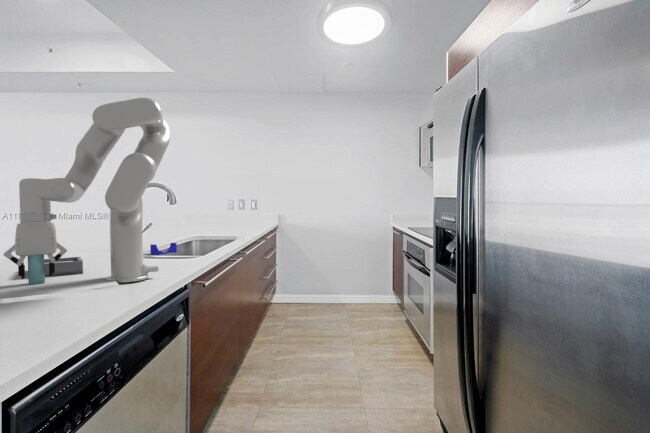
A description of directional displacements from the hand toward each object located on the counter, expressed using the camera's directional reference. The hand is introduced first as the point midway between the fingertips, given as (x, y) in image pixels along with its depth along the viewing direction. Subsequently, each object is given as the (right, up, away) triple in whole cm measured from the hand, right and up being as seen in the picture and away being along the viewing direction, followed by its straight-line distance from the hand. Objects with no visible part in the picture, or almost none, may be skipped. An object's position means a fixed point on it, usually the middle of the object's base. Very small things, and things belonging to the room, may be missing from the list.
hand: (37, 276), depth 115 cm
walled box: (-8, -2, +19) cm, 21 cm away
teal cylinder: (0, -2, 0) cm, 2 cm away
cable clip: (+9, -1, +69) cm, 70 cm away
